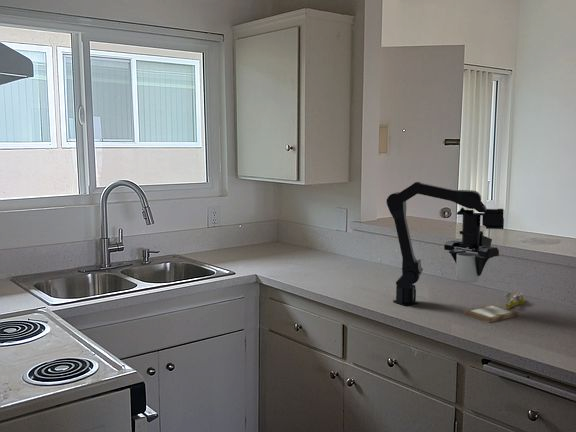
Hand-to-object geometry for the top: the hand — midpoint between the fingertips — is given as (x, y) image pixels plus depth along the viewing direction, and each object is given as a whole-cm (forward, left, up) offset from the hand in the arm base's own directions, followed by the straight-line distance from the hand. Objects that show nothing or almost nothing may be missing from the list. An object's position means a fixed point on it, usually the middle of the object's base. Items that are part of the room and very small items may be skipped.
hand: (470, 273), depth 194 cm
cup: (0, +1, -2) cm, 2 cm away
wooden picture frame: (+1, -9, -12) cm, 15 cm away
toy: (+19, -4, -13) cm, 23 cm away
